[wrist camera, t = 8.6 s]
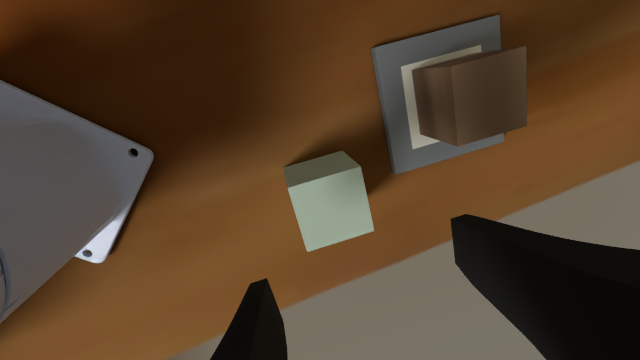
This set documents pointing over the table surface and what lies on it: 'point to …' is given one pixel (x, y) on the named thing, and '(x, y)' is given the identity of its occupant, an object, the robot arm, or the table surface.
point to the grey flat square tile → (400, 97)
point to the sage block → (329, 199)
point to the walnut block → (472, 96)
